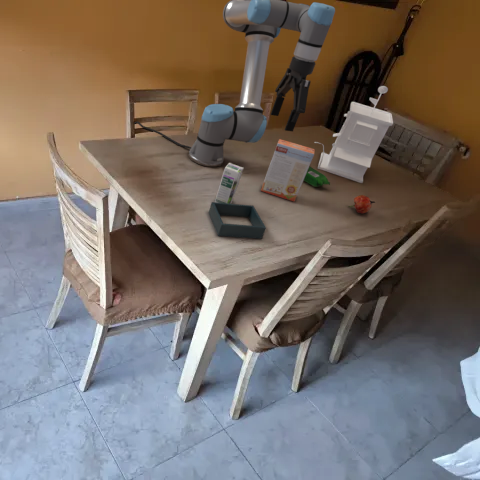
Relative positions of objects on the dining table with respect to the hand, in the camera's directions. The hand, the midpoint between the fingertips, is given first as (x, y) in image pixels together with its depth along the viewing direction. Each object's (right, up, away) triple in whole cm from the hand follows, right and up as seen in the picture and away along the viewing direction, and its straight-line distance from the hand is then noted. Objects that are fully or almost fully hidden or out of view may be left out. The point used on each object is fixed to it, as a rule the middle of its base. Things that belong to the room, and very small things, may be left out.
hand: (281, 122), depth 148 cm
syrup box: (-18, -27, +11) cm, 34 cm away
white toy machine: (+43, -5, +60) cm, 74 cm away
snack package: (+24, -15, +40) cm, 49 cm away
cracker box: (+6, -22, +25) cm, 34 cm away
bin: (-16, -35, -1) cm, 39 cm away
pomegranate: (+38, -29, +26) cm, 54 cm away
